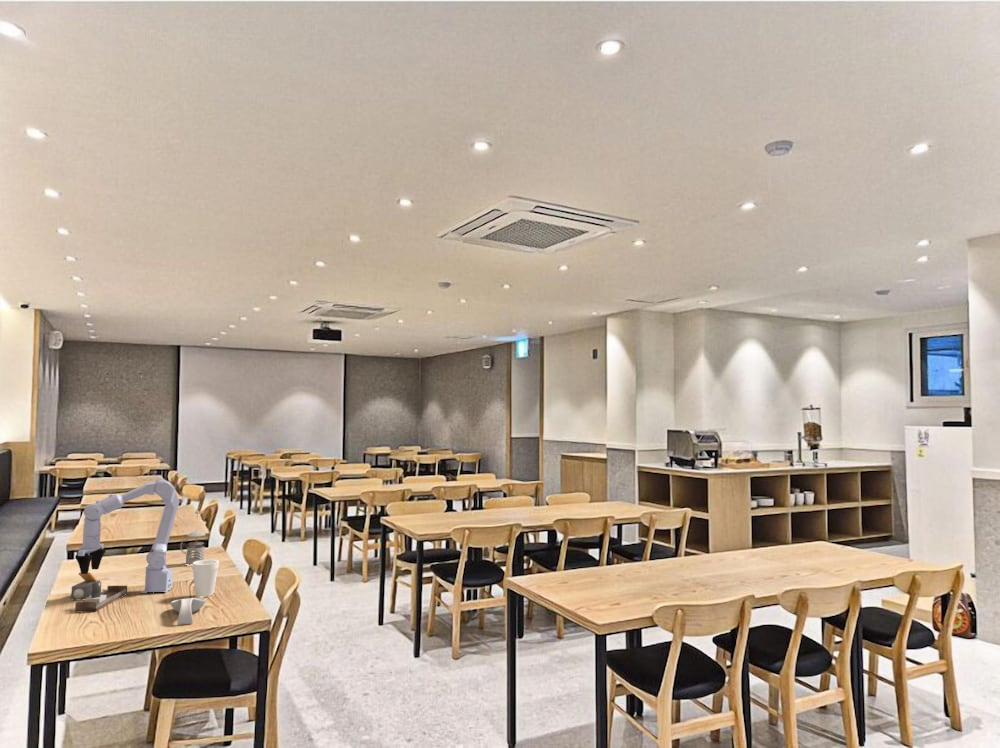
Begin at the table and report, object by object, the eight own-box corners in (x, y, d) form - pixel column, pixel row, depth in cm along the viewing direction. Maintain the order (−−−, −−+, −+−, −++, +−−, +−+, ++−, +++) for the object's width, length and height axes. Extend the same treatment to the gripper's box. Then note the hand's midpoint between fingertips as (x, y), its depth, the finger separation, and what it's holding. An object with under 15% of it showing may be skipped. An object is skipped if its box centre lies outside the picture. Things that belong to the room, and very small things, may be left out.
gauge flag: (96, 581, 265) (96, 579, 265) (89, 574, 259) (89, 572, 260) (85, 581, 264) (86, 579, 265) (78, 574, 259) (78, 572, 259)
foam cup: (217, 592, 270) (219, 559, 271) (217, 597, 262) (218, 563, 263) (191, 593, 267) (193, 560, 268) (190, 599, 258) (191, 565, 259)
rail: (126, 594, 265) (127, 585, 265) (95, 611, 241) (96, 602, 241) (108, 594, 264) (108, 585, 264) (75, 612, 240) (75, 602, 241)
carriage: (106, 600, 250) (107, 581, 251) (99, 604, 245) (100, 584, 246) (92, 600, 250) (93, 581, 250) (84, 604, 245) (85, 584, 246)
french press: (204, 566, 317) (206, 512, 318) (177, 566, 314) (179, 512, 316) (208, 561, 326) (210, 509, 328) (182, 562, 323) (184, 509, 325)
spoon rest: (171, 608, 247) (172, 588, 248) (206, 605, 252) (206, 586, 252) (166, 627, 225) (167, 605, 226) (204, 623, 230) (205, 602, 230)
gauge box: (99, 593, 266) (100, 580, 266) (85, 600, 256) (86, 586, 256) (84, 593, 265) (85, 580, 266) (70, 600, 255) (71, 586, 256)
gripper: (91, 532, 266) (89, 567, 266) (70, 538, 252) (68, 575, 251) (109, 532, 267) (107, 567, 266) (89, 538, 252) (87, 575, 252)
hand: (89, 571), depth 259 cm, fingers open, 7 cm apart
